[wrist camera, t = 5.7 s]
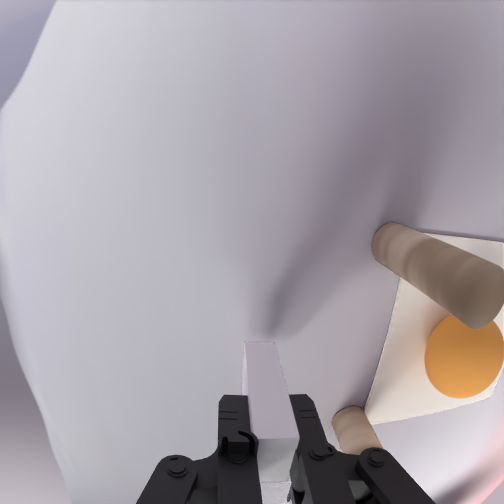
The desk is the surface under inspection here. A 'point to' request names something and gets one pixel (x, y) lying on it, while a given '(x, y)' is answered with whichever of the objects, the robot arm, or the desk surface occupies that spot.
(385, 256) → the post
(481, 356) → the ball
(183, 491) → the robot arm
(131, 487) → the desk surface
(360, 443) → the post
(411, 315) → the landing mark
